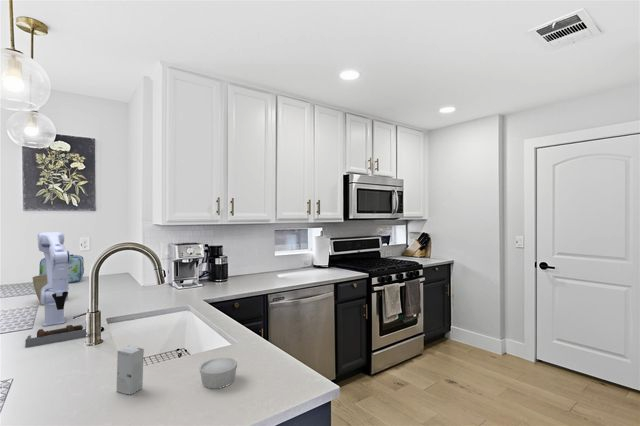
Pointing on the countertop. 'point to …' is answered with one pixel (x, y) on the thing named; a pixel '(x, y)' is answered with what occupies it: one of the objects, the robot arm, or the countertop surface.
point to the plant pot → (39, 284)
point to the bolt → (59, 330)
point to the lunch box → (73, 268)
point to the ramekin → (218, 372)
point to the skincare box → (130, 369)
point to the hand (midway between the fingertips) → (60, 309)
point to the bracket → (54, 338)
